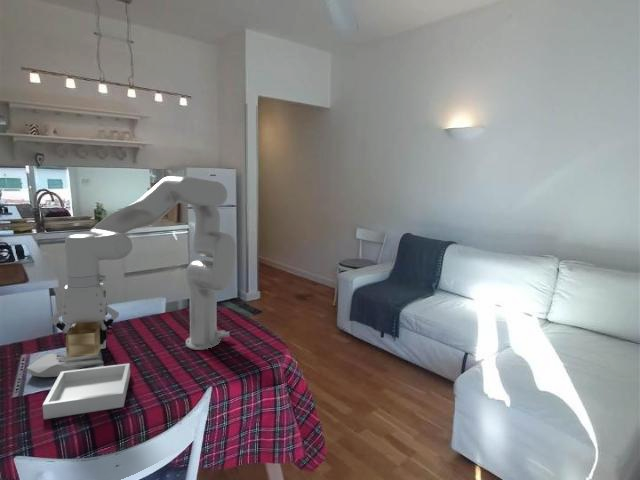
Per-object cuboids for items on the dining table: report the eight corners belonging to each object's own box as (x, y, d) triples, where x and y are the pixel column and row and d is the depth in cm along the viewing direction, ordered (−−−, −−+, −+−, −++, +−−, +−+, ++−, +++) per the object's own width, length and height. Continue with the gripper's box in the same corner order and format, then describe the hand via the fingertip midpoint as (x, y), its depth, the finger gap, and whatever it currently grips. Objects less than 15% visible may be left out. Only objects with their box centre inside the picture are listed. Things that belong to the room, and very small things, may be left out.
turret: (104, 372, 123) (105, 358, 123) (27, 384, 110) (29, 368, 109) (97, 361, 130) (98, 347, 130) (24, 370, 117) (25, 355, 117)
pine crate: (104, 338, 110) (104, 318, 109) (97, 354, 100) (96, 333, 99) (76, 340, 108) (75, 320, 107) (66, 358, 98) (65, 335, 97)
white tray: (130, 375, 118) (129, 363, 117) (123, 406, 102) (122, 393, 102) (62, 384, 112) (61, 371, 111) (43, 419, 96) (42, 404, 95)
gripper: (122, 275, 108) (123, 335, 111) (49, 278, 102) (53, 341, 104) (118, 282, 101) (120, 346, 104) (40, 286, 95) (44, 353, 97)
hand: (86, 343), depth 104 cm, fingers closed on pine crate, 7 cm apart
